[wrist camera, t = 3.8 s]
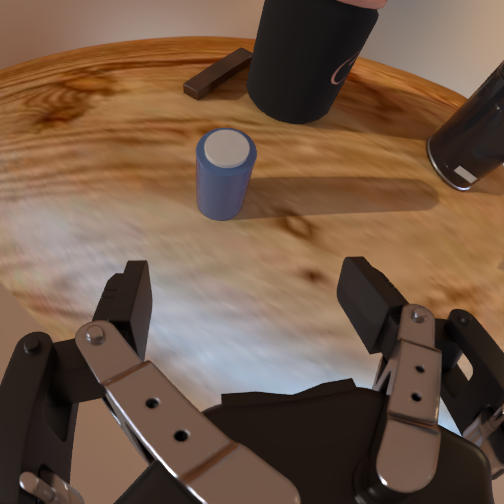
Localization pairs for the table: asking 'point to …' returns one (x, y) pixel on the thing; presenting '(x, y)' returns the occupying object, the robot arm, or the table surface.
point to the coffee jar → (306, 54)
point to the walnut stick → (217, 73)
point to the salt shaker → (223, 172)
